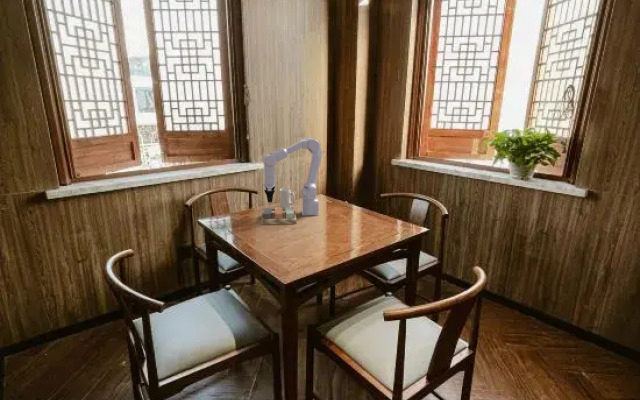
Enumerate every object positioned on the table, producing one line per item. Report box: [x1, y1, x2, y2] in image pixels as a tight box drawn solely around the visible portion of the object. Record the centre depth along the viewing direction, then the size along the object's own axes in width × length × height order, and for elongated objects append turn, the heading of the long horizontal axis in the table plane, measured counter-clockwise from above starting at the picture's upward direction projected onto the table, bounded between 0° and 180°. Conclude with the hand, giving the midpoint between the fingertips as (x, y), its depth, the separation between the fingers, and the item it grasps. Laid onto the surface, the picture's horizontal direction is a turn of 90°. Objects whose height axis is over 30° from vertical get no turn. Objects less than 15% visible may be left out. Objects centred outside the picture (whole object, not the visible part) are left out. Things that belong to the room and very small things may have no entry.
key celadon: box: [285, 206, 294, 219], centre depth 194 cm, size 4×11×4 cm, turn 7°
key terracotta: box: [274, 207, 283, 219], centre depth 193 cm, size 4×11×4 cm, turn 7°
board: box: [260, 210, 297, 225], centre depth 194 cm, size 19×15×2 cm
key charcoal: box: [263, 207, 273, 219], centre depth 193 cm, size 4×11×4 cm, turn 7°
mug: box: [279, 187, 296, 211], centre depth 212 cm, size 10×7×12 cm, turn 69°
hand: (270, 200), depth 196 cm, fingers open, 7 cm apart
